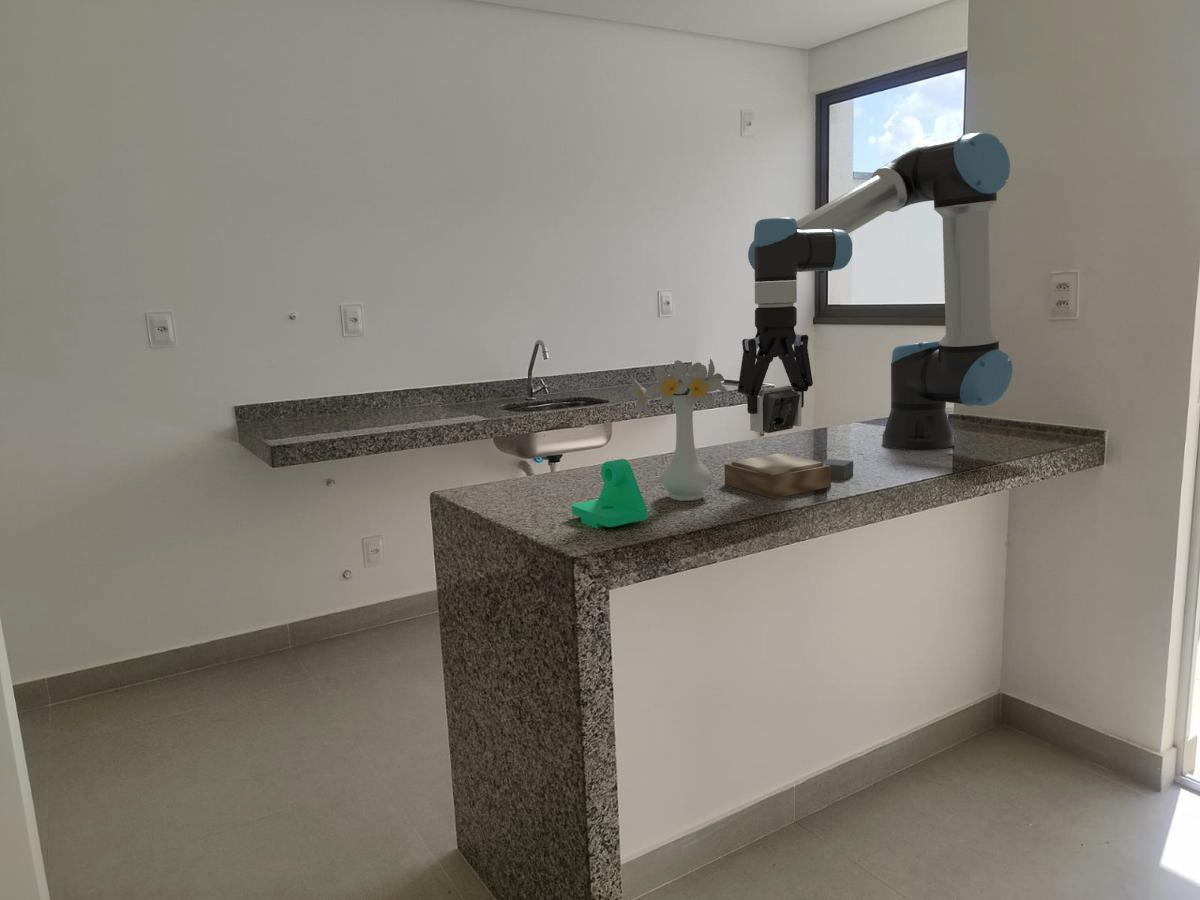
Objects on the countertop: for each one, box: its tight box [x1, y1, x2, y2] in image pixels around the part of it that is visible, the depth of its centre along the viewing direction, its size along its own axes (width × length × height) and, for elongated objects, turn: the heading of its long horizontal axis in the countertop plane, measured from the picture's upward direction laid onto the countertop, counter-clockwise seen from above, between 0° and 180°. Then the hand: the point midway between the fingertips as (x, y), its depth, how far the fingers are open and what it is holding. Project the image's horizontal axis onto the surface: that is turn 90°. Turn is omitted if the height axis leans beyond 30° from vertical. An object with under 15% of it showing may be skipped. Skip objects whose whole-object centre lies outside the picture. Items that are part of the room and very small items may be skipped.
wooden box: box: [724, 453, 832, 499], centre depth 163 cm, size 14×14×5 cm
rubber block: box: [822, 458, 854, 481], centre depth 169 cm, size 5×5×3 cm
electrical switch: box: [754, 385, 800, 434], centre depth 160 cm, size 8×5×8 cm, turn 126°
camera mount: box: [571, 458, 648, 529], centre depth 143 cm, size 12×8×10 cm, turn 34°
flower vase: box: [628, 357, 730, 502], centre depth 155 cm, size 13×18×25 cm
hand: (776, 428), depth 161 cm, fingers closed on electrical switch, 8 cm apart
